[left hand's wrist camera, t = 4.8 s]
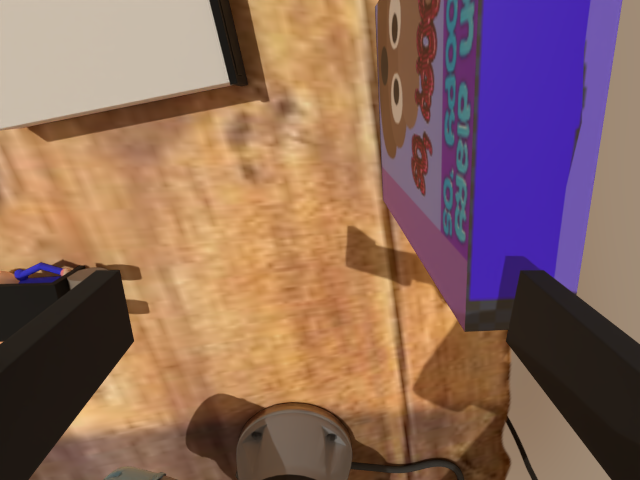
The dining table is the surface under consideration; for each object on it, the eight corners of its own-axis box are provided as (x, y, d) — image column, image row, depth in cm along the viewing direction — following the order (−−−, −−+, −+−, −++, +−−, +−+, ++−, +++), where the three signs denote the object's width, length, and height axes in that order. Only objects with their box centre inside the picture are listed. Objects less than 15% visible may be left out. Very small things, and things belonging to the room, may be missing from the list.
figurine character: (123, 248, 43) (-20, 258, 41) (94, 278, 36) (-80, 291, 34) (135, 301, 45) (0, 311, 44) (110, 338, 38) (-53, 352, 37)
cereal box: (375, 6, 33) (488, -180, 11) (429, 0, 33) (659, -201, 11) (382, 199, 39) (466, 334, 17) (429, 194, 39) (575, 325, 17)
